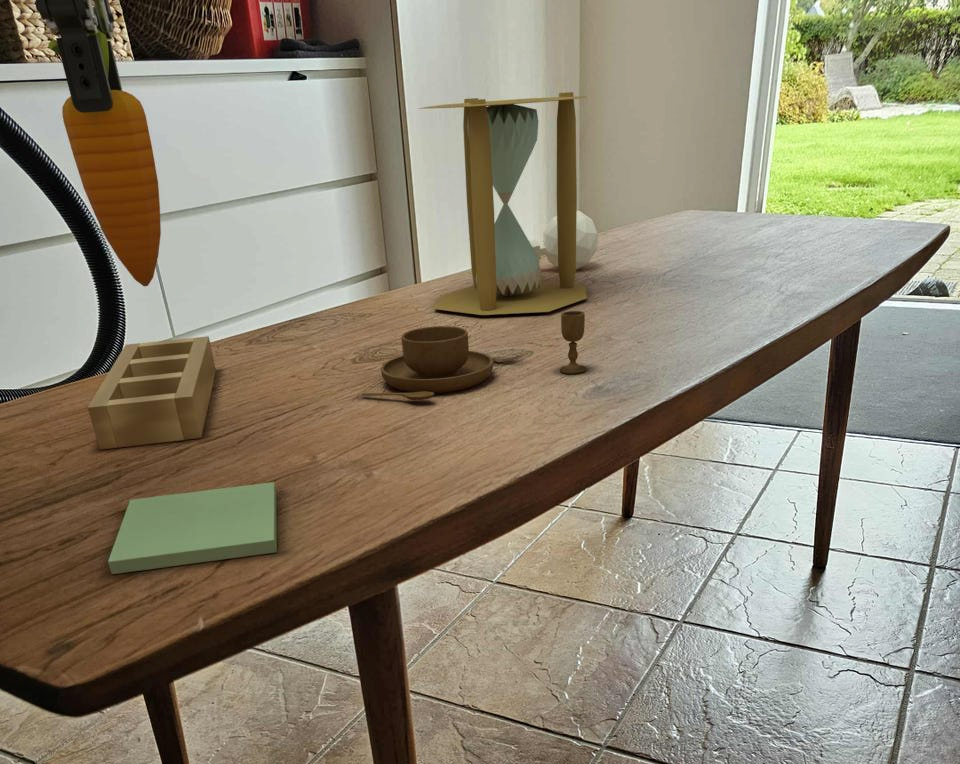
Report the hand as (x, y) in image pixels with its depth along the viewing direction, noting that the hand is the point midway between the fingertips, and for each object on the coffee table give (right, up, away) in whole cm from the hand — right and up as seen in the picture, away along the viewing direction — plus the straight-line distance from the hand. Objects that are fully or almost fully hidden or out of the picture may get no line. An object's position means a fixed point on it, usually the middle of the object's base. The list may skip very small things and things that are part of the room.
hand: (101, 109), depth 56 cm
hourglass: (+28, +16, +73) cm, 80 cm away
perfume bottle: (+37, +28, +92) cm, 103 cm away
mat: (+3, -25, +10) cm, 27 cm away
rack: (-9, -9, +38) cm, 40 cm away
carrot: (+1, -9, +6) cm, 11 cm away
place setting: (+23, -6, +39) cm, 45 cm away
